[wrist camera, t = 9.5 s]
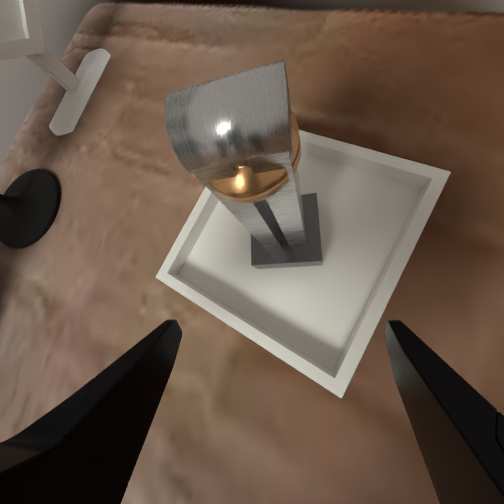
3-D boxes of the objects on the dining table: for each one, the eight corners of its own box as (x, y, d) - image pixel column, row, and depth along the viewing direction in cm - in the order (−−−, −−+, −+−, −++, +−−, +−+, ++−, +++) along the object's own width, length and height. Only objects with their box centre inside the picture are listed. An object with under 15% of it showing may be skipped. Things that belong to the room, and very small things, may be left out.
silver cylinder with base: (322, 265, 18) (335, 162, 5) (257, 269, 19) (128, 196, 6) (316, 203, 19) (315, -18, 6) (256, 211, 20) (144, 43, 7)
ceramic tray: (434, 187, 17) (451, 171, 15) (338, 386, 16) (341, 398, 14) (252, 132, 22) (245, 115, 20) (171, 279, 21) (155, 277, 19)
